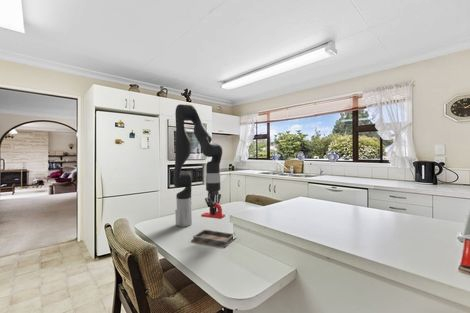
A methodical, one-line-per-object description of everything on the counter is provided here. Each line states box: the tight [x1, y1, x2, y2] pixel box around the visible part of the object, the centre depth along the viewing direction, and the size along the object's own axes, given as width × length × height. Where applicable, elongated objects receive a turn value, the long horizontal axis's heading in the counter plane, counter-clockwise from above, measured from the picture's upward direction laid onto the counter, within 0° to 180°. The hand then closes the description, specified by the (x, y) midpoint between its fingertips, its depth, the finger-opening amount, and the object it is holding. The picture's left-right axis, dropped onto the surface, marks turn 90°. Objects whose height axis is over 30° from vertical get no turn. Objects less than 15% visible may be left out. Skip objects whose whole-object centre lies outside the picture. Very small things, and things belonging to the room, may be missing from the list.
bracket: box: [200, 203, 226, 220], centre depth 118 cm, size 12×4×8 cm, turn 66°
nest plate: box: [191, 229, 235, 248], centre depth 117 cm, size 20×13×2 cm, turn 66°
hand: (213, 214), depth 116 cm, fingers closed on bracket, 1 cm apart
